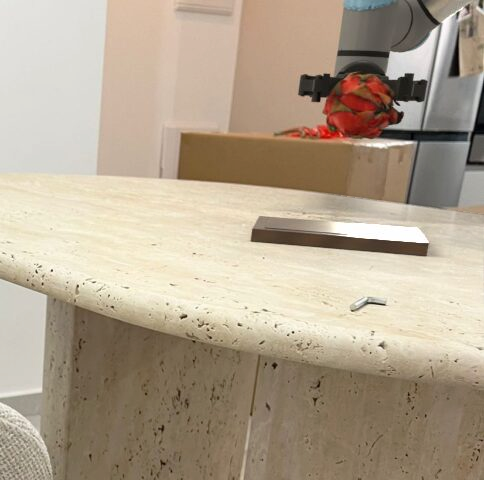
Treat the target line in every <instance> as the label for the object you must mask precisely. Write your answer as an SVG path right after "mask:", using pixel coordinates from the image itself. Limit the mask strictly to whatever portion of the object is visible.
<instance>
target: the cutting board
mask: <svg viewBox="0 0 484 480" xmlns="http://www.w3.org/2000/svg"><path fill="white" fill-rule="evenodd" d="M250 235H251V236H250V242H257V243H267V244H268V243H269V244H283V245H292V246H293V245H294V246H302V247H303V246H305V247H316V248H317V247H318V248H327V249H328V248H329V249H339V250H349V251H351V250H352V251H361V252H362V251H364V252H375V253H388V254H399V255H409V256H410V255H412V256H422V257H427V256H428V251H429V246H430V242H429V241H428V240H427V238H426V237H425V235H424V234H423V233H422V231H421V230H420V229H419V228H418V227H408V226H407V227H406V226H396V225H395V226H394V225H381V224H367V223H357V222H356V223H355V222H342V221H329V220H315V219H304V218H292V217H278V216H267V215H259V216H258V218H257V220H256V221H255V223H254V225H253V226H252V229H251V234H250Z"/></svg>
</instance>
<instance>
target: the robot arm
mask: <svg viewBox="0 0 484 480" xmlns="http://www.w3.org/2000/svg"><path fill="white" fill-rule="evenodd" d="M473 1H474V0H343V2H342V6H343V7H342V17H341V22H340V23H341V26H340V32H339V38H338V45H337V46H338V47H337V54H336V58H335V63H334V64H335V65H334V70H333V76H331V73H327V72H326V73H325V72H324V73H323V75H322V74H316V75H309V74H308V73H303V74H301V75H300V77H299V84H298V90H297V95H298V96H299V97H302V98H303V97H309V98H311V100H310V103H321V100H322V98H323V99H327V97H328V96H329V93H330V91H331V90H332V89H333V88H334V87H335V86H336V84H338V83H339V82H340V81H341V80H343V79H344V78H346V77H347V76H348V75H349V74H350V73H353V72H360V71H361V73H360V74H361V75H366V74H373V75H375V76H376V77H378V78H379V79H380V80H381V81H382V83H384V84H387V85H388V86H389V87H390V88H391V89H392V90H393V92H394V93H395V96H394V98H395V101H397V102H404V103H409V102H416V103H423V102H425V99H426V94H427V90H428V89H427V88H428V83H429V81H428V80H427V79H425V78H424V79H423V78H421V79H419V80H414V79H415V73H411V72H405V73H404V75H403V76H399V77H397V79H390V77H389V75H387V71H388V67H389V66H388V65H389V60H390V54H391V52H393V53H406V52H411V51H414V50H417V49H418V48H421V47H422V46H423V45H424V44H425V43H426V42H427V40H428V39H429V38H430V36H431V34H432V32H433V30H435V29H436V28H438V27H439V26H440V25H441V24H443V23H444V22H446V21H448V20H449V19H450V18H451V17H452V16H454V15H455V14H456V13H458V12H459V11H461V10H463V8H465V7H467V6H468V5H469V4H471V3H472V2H473Z"/></svg>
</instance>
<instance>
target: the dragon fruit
mask: <svg viewBox="0 0 484 480" xmlns="http://www.w3.org/2000/svg"><path fill="white" fill-rule="evenodd" d="M360 73H361V71H360V72H353V73H350V74H349V75H348V76H347V77H346V78H344V79H343V80H341V81H340V82H339V83H338V84H336V86H335V87H334V88H333V89H332V90H331V91H330V93H329V96H328V97H327V98H325V103H324V107H323V109H322V114H323V115H325V116H326V119H325V120H326V121H325V123H326V127H327V131H328V133H329V134H333V133H334V134H338V133H340V134H341V136H343V137H344V138H348V139H349V138H350V139H353V140H363V139H364V138H365V139H368V140H374V139H376V138H377V137H379V136H380V135H381V133H383V131H384V129H386V128H388V127H389V126H394V125H399V124H401V122H402V121H403V119H404V117H405V112H404V111H403V110H401V111H399V110H398V109H397V108H396V107H394V106H395V105H396V106H398V107H401V103H399V101H395V98H394V96H395V93H394V92H393V90H392V89H391V88H390V87H389V86H388V85H387V84H384V83H382V81H381V80H380V79H379V78H378V77H376V76H375V75H373V74H366V75H361V74H360Z"/></svg>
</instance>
